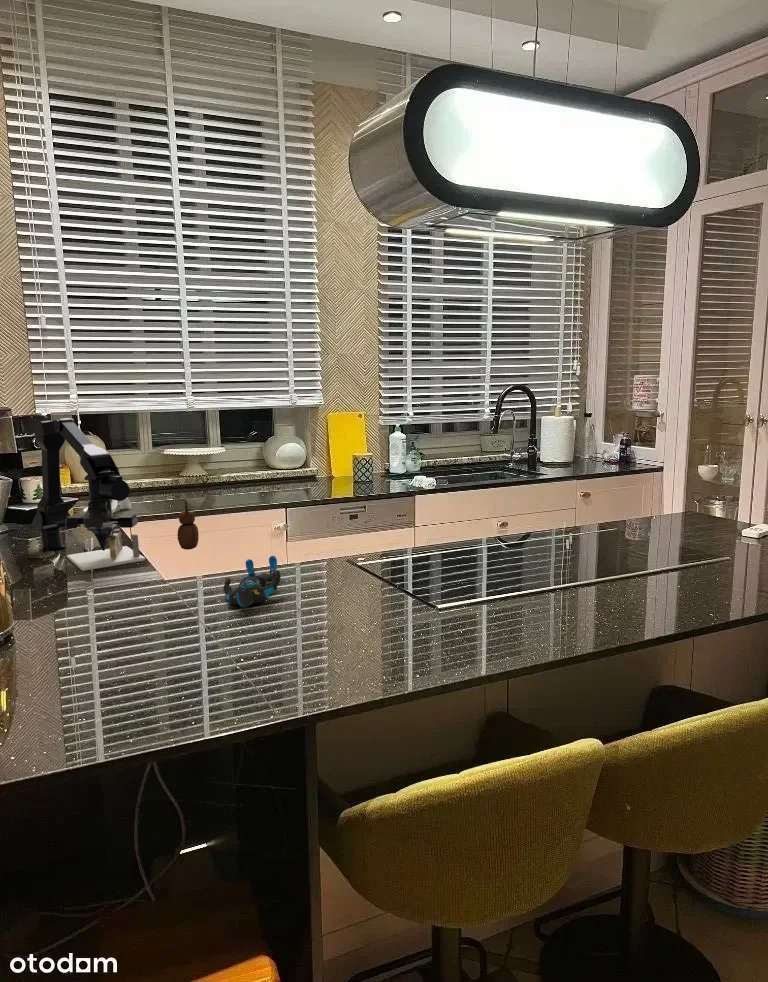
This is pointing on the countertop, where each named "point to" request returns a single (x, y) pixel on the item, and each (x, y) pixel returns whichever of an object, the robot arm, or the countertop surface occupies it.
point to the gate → (114, 543)
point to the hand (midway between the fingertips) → (103, 550)
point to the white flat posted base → (107, 556)
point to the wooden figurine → (187, 530)
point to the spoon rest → (123, 505)
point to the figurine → (253, 585)
